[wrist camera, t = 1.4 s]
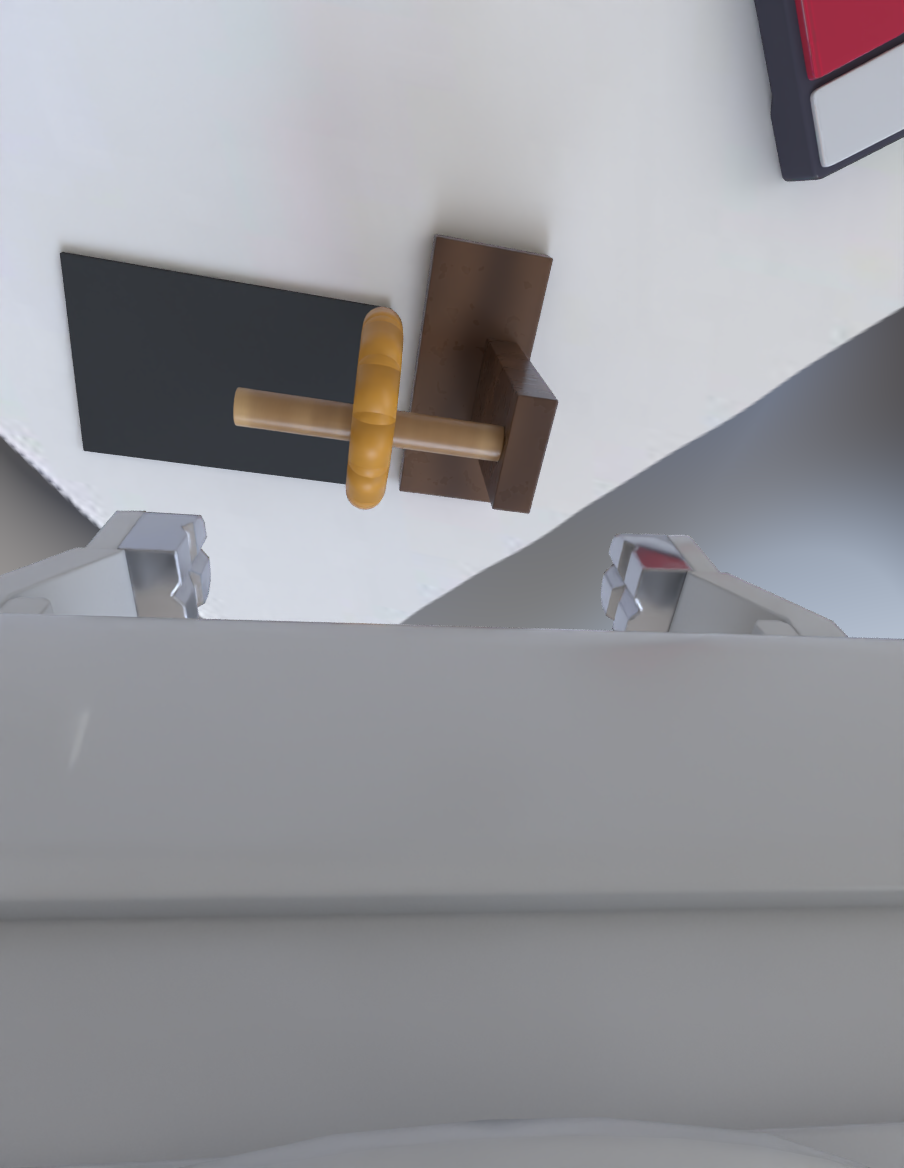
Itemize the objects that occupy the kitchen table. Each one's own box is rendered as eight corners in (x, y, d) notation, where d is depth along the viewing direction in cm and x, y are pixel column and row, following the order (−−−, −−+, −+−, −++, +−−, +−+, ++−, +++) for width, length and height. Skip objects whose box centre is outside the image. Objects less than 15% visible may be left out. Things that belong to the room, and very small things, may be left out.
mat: (85, 448, 44) (83, 450, 44) (62, 251, 38) (59, 252, 38) (370, 485, 47) (370, 487, 47) (391, 308, 41) (391, 309, 41)
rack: (548, 255, 40) (610, 291, 29) (494, 494, 49) (525, 596, 37) (278, 204, 38) (230, 221, 26) (269, 465, 46) (230, 565, 35)
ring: (382, 467, 42) (380, 544, 33) (350, 462, 41) (339, 539, 33) (403, 297, 36) (407, 337, 28) (367, 290, 36) (360, 330, 28)
